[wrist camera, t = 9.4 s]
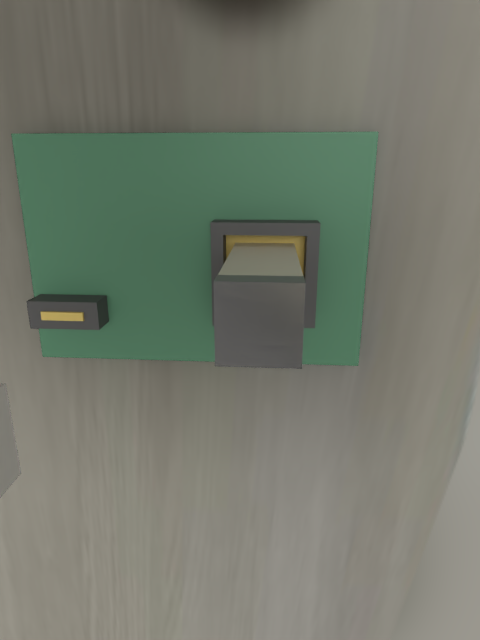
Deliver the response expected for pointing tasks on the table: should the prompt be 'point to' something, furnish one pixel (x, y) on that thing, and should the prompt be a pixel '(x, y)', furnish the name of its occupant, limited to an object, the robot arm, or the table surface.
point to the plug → (260, 307)
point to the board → (189, 235)
